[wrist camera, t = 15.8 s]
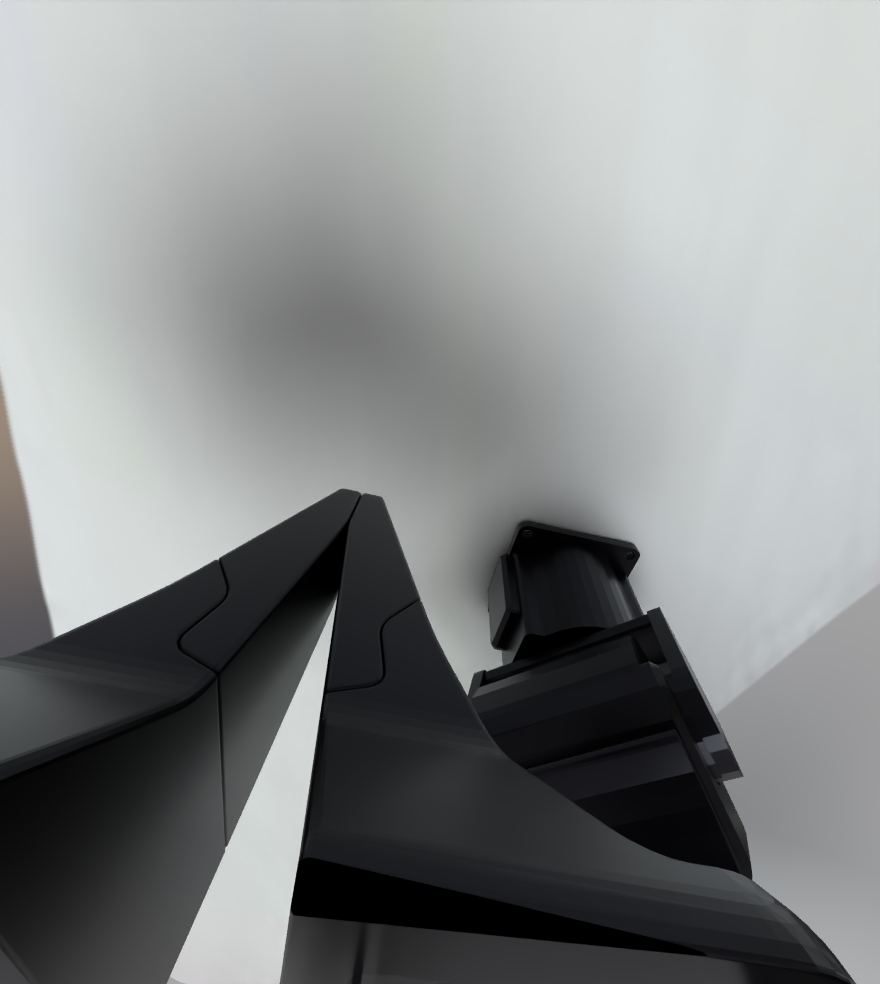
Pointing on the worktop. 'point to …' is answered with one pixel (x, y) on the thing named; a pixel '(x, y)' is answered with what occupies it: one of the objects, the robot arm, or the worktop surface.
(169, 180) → the worktop surface
